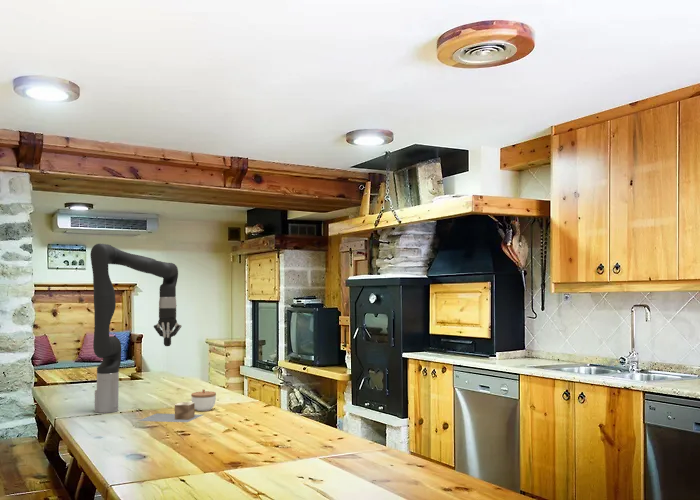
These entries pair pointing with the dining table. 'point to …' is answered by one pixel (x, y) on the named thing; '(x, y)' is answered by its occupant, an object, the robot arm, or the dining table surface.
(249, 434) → the dining table surface
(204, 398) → the lidded jar
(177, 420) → the mat
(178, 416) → the walnut cube
